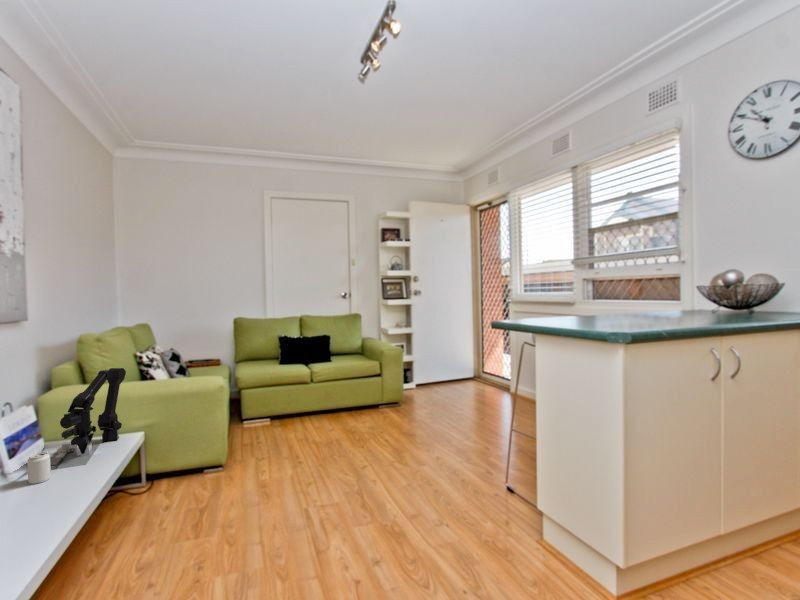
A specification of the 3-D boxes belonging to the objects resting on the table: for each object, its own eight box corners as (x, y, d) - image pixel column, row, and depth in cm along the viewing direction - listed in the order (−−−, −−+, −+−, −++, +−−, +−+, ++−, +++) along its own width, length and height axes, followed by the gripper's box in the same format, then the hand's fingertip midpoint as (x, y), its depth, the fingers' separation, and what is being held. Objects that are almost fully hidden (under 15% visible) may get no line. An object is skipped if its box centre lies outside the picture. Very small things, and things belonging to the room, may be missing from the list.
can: (55, 477, 183) (54, 451, 182) (39, 485, 175) (38, 458, 175) (40, 476, 184) (39, 450, 183) (23, 484, 176) (22, 457, 175)
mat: (100, 443, 220) (100, 442, 220) (85, 465, 194) (85, 464, 194) (58, 449, 212) (58, 448, 212) (37, 472, 187) (37, 471, 187)
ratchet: (77, 448, 213) (76, 439, 212) (60, 468, 190) (60, 458, 190) (60, 450, 210) (59, 442, 210) (41, 471, 188) (41, 461, 187)
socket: (92, 450, 210) (91, 441, 209) (89, 454, 205) (88, 445, 205) (80, 452, 208) (79, 442, 207) (76, 456, 203) (76, 446, 203)
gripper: (69, 417, 211) (70, 447, 211) (56, 430, 194) (57, 462, 194) (95, 414, 215) (96, 443, 216) (85, 426, 198) (86, 458, 199)
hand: (84, 451), depth 206 cm, fingers closed on socket, 5 cm apart
